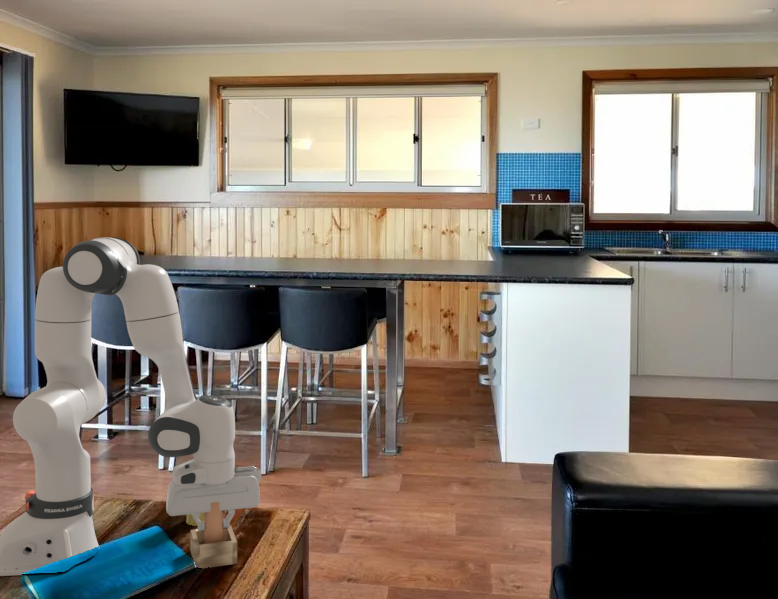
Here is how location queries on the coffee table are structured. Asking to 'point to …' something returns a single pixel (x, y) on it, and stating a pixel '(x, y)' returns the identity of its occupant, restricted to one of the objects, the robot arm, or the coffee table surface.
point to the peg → (213, 525)
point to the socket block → (214, 549)
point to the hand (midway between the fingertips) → (213, 529)
